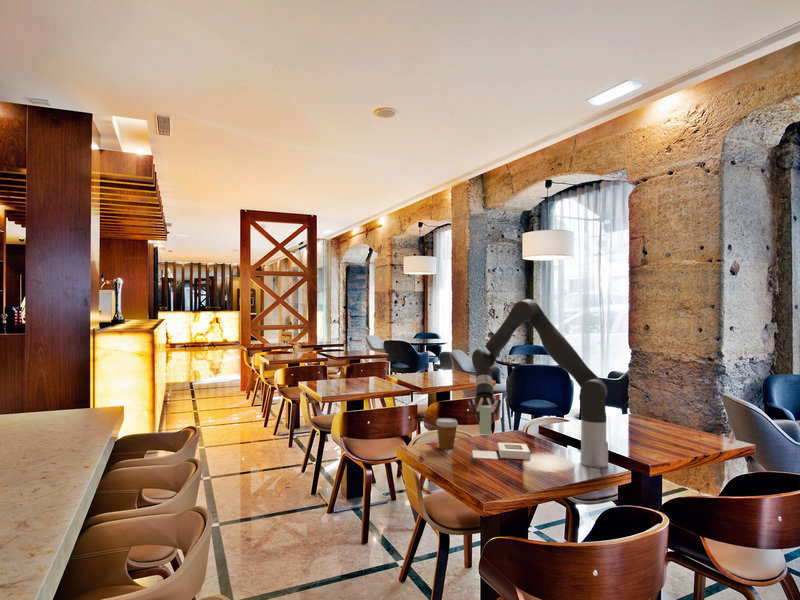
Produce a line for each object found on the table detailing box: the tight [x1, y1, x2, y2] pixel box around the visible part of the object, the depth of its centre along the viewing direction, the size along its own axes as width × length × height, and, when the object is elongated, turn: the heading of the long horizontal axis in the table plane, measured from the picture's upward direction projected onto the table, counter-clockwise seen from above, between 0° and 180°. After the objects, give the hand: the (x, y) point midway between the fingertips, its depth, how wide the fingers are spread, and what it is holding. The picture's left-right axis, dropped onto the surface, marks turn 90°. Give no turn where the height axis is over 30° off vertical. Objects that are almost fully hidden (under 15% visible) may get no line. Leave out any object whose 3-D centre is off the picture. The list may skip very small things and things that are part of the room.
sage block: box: [478, 405, 492, 436], centre depth 193 cm, size 5×5×11 cm
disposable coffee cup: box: [435, 417, 459, 451], centre depth 202 cm, size 10×10×12 cm
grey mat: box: [471, 450, 499, 461], centre depth 192 cm, size 10×10×1 cm
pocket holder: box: [497, 442, 531, 460], centre depth 195 cm, size 12×12×3 cm
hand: (485, 421), depth 191 cm, fingers closed on sage block, 4 cm apart
